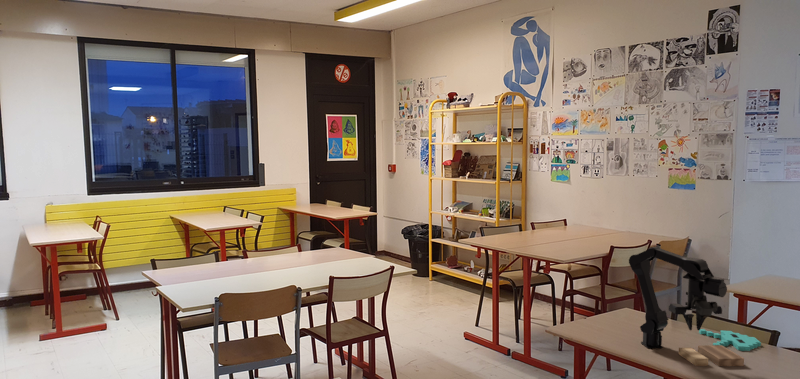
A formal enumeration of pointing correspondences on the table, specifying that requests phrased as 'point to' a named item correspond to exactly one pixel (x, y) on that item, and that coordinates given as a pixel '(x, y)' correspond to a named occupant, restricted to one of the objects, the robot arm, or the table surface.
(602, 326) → the table surface
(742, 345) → the alien figure
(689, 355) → the oak plank
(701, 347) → the floor section
